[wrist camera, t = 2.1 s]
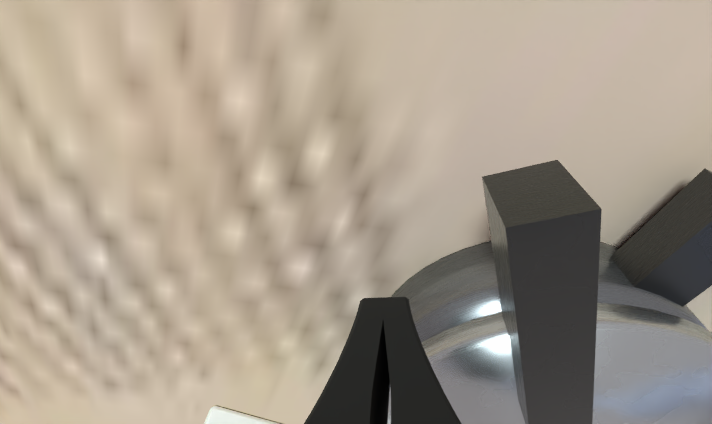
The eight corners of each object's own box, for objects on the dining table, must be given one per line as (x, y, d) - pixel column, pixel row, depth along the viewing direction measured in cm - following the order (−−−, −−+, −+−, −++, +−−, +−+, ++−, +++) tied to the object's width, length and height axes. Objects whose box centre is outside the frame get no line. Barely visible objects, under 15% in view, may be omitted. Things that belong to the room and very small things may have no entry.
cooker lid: (710, 494, 20) (752, 561, 18) (407, 507, 24) (409, 565, 21) (881, 82, 9) (1050, 121, 7) (256, 224, 12) (227, 281, 10)
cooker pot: (541, 447, 27) (564, 516, 23) (332, 382, 24) (323, 449, 21) (853, 239, 16) (977, 311, 13) (536, 82, 13) (586, 120, 10)
